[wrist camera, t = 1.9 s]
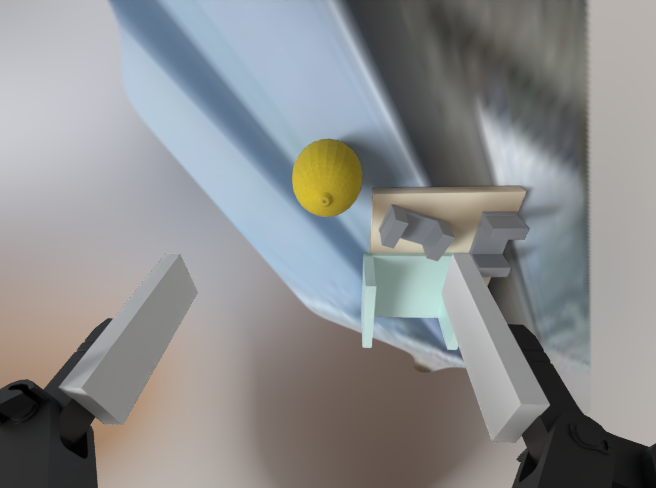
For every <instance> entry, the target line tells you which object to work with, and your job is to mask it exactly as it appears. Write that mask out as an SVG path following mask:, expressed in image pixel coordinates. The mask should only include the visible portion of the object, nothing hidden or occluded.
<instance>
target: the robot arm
mask: <svg viewBox="0 0 656 488" xmlns="http://www.w3.org/2000/svg"><path fill="white" fill-rule="evenodd" d="M196 295H197V290H196V287H195V285H194V283H193V281H192V279H191V277H190V274H189V272H188V270H187V268H186V266H185V263H184V261H183V259H182V257H181V255H180V254H165V255H164V256H163V257H162V258H161V260H160V261H159V262H158V264H157V265H156V266H155V267H154V268H153V270H152V271H151V273H149V275H148V276H147V277H146V279H145V280H144V281H143V282H142V283H141V285H140V286H139V287H138V289H137V290H136V291H135V292H134V293H133V295H132V296H131V297H130V298H129V300H128V301H127V302H126V303H125V305H124V306H123V307H122V308H121V310H120V311H119V312H118V314H117V315H116V316H115V317H114V318H113V319H111V318H108V319H106V320H105V321H104V322H102V323H101V324H100V325H99V326H97V327H96V328H95V329H94V330H93V331H92V332H91V333H90V335H89V336H88V337H87V338H86V340H85V342H84V343H82V344H81V345H80V347H79V348H78V349H77V352H75V353H74V354H73V355H72V356H71V357H70V359H69V360H68V361H67V362H66V363H65V365H64V366H63V367H62V368H61V369H60V370H59V372H58V373H57V374H56V375H55V376H54V378H53V379H52V380H51V381H50V382H49V384H48V385H47V386H46V387H45V388H44V389H42V388H40V387H39V386H38V385H36V384H35V383H34V382H32V381H30V380H28V379H27V380H19V381H16V382H13V383H10V384H8V385H7V386H5V387H3V388H2V389H0V488H98V484H97V471H96V457H95V445H94V432H93V429H92V427H91V426H90V424H91V423H92V421H93V420H94V418H95V417H96V418H97V419H98V420H99V421H100V422H102V423H103V424H112V425H114V424H115V425H123V424H124V423H125V421H126V419H127V417H128V416H129V414H130V412H131V410H132V408H133V407H134V405H135V403H136V401H137V400H138V398H139V396H140V394H141V392H142V391H143V389H144V387H145V385H146V384H147V382H148V380H149V378H150V376H151V375H152V373H153V371H154V369H155V368H156V366H157V364H158V362H159V360H160V358H161V357H162V355H163V353H164V352H165V350H166V348H167V346H168V344H169V343H170V341H171V339H172V337H173V336H174V334H175V332H176V330H177V329H178V327H179V325H180V323H181V321H182V320H183V318H184V316H185V314H186V313H187V311H188V309H189V307H190V305H191V304H192V302H193V300H194V298H195V297H196ZM441 296H442V299H443V302H444V305H445V308H446V310H447V313H448V316H449V319H450V322H451V325H452V328H453V331H454V334H455V337H456V339H457V342H458V345H459V348H460V351H461V354H462V357H463V360H464V363H465V366H466V368H467V371H468V374H469V377H470V380H471V383H472V386H473V388H474V391H475V395H476V397H477V400H478V403H479V406H480V409H481V412H482V415H483V418H484V420H485V423H486V426H487V429H488V432H489V435H490V438H491V441H492V442H511V443H516V442H517V440H518V439H519V438H520V437H521V436H522V437H523V439H524V442H525V444H526V446H527V448H526V449H525V450H524V451H523V452H522V453H521V454H520V456H519V457H518V458H517V460H518V461H519V462H521V463H520V466H519V469H518V472H517V475H516V478H515V480H514V483H513V486H512V488H656V444H654V445H652V446H650V447H648V446H644V445H642V444H639V443H636V442H633V441H630V440H627V439H624V438H621V437H618V436H616V435H613V434H611V433H609V432H606V431H605V430H604V429H603V428H602V426H601V425H599V424H598V423H597V422H595V421H594V420H592V419H591V418H590V417H588V416H586V415H584V414H583V413H582V411H581V410H580V409H579V407H578V406H577V404H576V403H575V401H574V399H573V398H572V396H571V394H570V393H569V391H568V389H567V388H566V386H565V384H564V383H563V381H562V379H561V378H560V376H559V374H558V373H557V371H556V369H555V368H554V366H553V364H551V363H550V359H549V358H548V356H547V355H546V353H544V350H543V348H542V346H541V345H540V343H539V341H538V340H537V338H536V336H535V335H534V334H532V333H531V332H530V331H529V330H528V329H527V328H526V327H525V326H524V325H513V324H507V323H506V321H505V319H504V317H503V315H502V314H501V312H500V310H499V308H498V306H497V304H496V302H495V300H494V299H493V297H492V295H491V293H490V291H489V289H488V287H487V285H486V283H485V282H484V280H483V278H482V276H481V274H480V272H479V270H478V268H477V267H476V265H475V263H474V261H473V259H472V257H471V255H470V254H452V257H451V261H450V264H449V268H448V272H447V275H446V279H445V282H444V286H443V290H442V293H441Z"/></svg>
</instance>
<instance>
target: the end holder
mask: <svg viewBox="0 0 656 488" xmlns="http://www.w3.org/2000/svg"><path fill="white" fill-rule="evenodd" d="M452 254H465V253H444V254H443V255H442V257H441V258H440V259H439V261H434V260H431V259H427V258H426V255H425V253H363V278H362V305H361V319H362V339H363V340H362V341H363V342H362V343H363V347H368V348H371V346H372V335H373V322H374V317H423V318H438V319H439V323H440V326H441V329H442V333H443V336H444V339H445V343H446V346H447V349H448V350H457V348H458V342H457V339H456V337H455V334H454V331H453V328H452V325H451V322H450V319H449V316H448V313H447V310H446V308H445V305H444V302H443V299H442V296H441V293H442V290H443V286H444V282H445V279H446V275H447V272H448V268H449V264H450V261H451V257H452Z"/></svg>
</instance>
